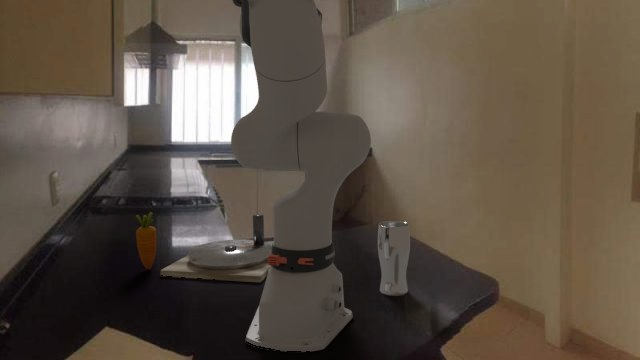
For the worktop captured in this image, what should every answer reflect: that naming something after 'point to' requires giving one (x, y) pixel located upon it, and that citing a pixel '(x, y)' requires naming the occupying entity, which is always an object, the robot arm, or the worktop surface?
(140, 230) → the carrot
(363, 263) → the worktop surface
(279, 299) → the robot arm
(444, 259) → the worktop surface
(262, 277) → the dial base
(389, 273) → the beer glass
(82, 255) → the worktop surface
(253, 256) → the dial
